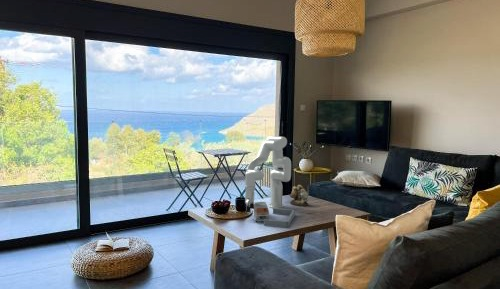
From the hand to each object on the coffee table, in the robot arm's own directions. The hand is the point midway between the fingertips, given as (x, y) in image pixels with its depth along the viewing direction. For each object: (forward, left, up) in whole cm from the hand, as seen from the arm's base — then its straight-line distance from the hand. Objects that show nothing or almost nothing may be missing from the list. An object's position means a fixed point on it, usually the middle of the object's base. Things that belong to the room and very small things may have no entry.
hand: (250, 210), depth 279 cm
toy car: (0, +9, -6) cm, 10 cm away
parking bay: (0, +23, -5) cm, 24 cm away
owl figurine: (-49, +30, -6) cm, 58 cm away
